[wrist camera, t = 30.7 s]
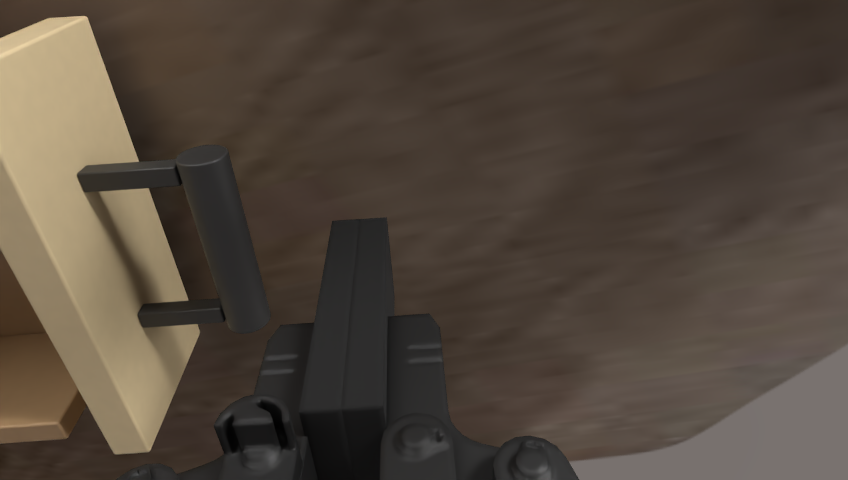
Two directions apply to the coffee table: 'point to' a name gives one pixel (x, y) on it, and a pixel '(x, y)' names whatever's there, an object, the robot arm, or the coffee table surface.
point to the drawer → (100, 250)
